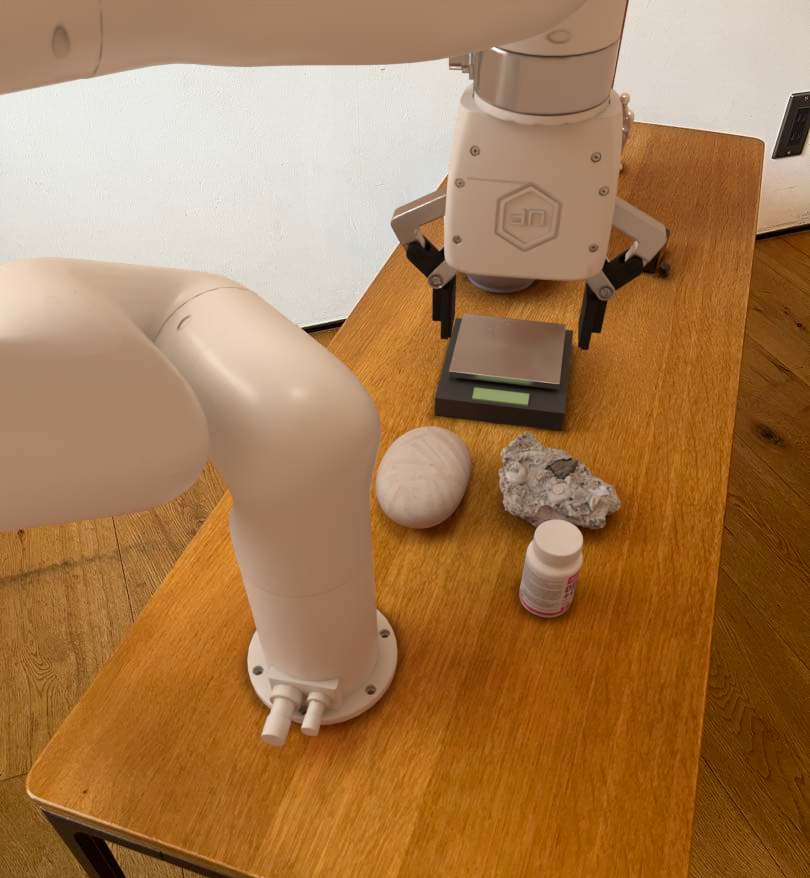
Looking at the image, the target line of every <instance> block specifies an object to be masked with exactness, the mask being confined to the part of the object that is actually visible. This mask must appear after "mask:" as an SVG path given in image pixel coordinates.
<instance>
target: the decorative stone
mask: <svg viewBox="0 0 810 878" xmlns="http://www.w3.org/2000/svg"><path fill="white" fill-rule="evenodd" d="M470 453H471V452H470V450H469V448H468V446H467V444H466V443H465V442H464V441H463V439H462V438H461V437H460V436H459V435H458V434H456V433H455V432H453V431H452V430H449V429H447V428H444V427H440V426H433V425H427V426H420V427H417V428H413V429H411V430H409V431H407V432H404V433H403V434H401V435H400V436H399V437H397V438H396V439H395V440H394V441H393V442H392V443H391V444H390V446H389V447H388V448H387V450H386V452H385V453H384V455H383V457H382V459H381V460H380V463H379V465H378V469H377V472H376V476H375V494H376V498H377V500H378V504H379V506H380V508H381V510H382V512H383V513H384V514H385V515H386V516H387V517H388V518H389V519H390V520H391V521H392V522H394V523H396V524H398V525H400V526H403V527H405V528H408V529H409V528H410V529H421V530H422V529H429V528H432V527H435V526H437V525H439V524H441V523H443V522H445V521H446V520H447V519H448V518H449V517H450V516H451V515H453V513H454V512H455V511H456V509H457V508H458V506H459V505H460V504H461V502H462V499H463V497H464V495H465V492H466V490H467V487H468V484H469V482H470V476H471V472H472V458H471V454H470Z"/></svg>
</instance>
